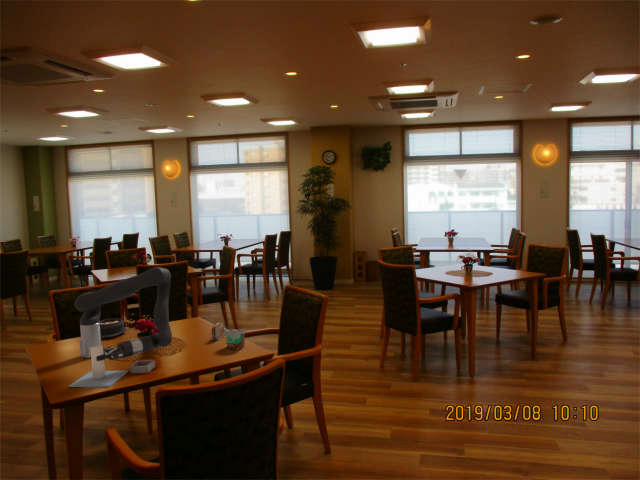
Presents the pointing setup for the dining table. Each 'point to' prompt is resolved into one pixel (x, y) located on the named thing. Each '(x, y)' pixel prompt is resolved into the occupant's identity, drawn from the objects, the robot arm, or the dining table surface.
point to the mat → (104, 382)
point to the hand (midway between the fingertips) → (94, 357)
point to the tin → (218, 330)
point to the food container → (235, 338)
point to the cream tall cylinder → (97, 362)
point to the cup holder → (142, 366)
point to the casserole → (111, 327)
